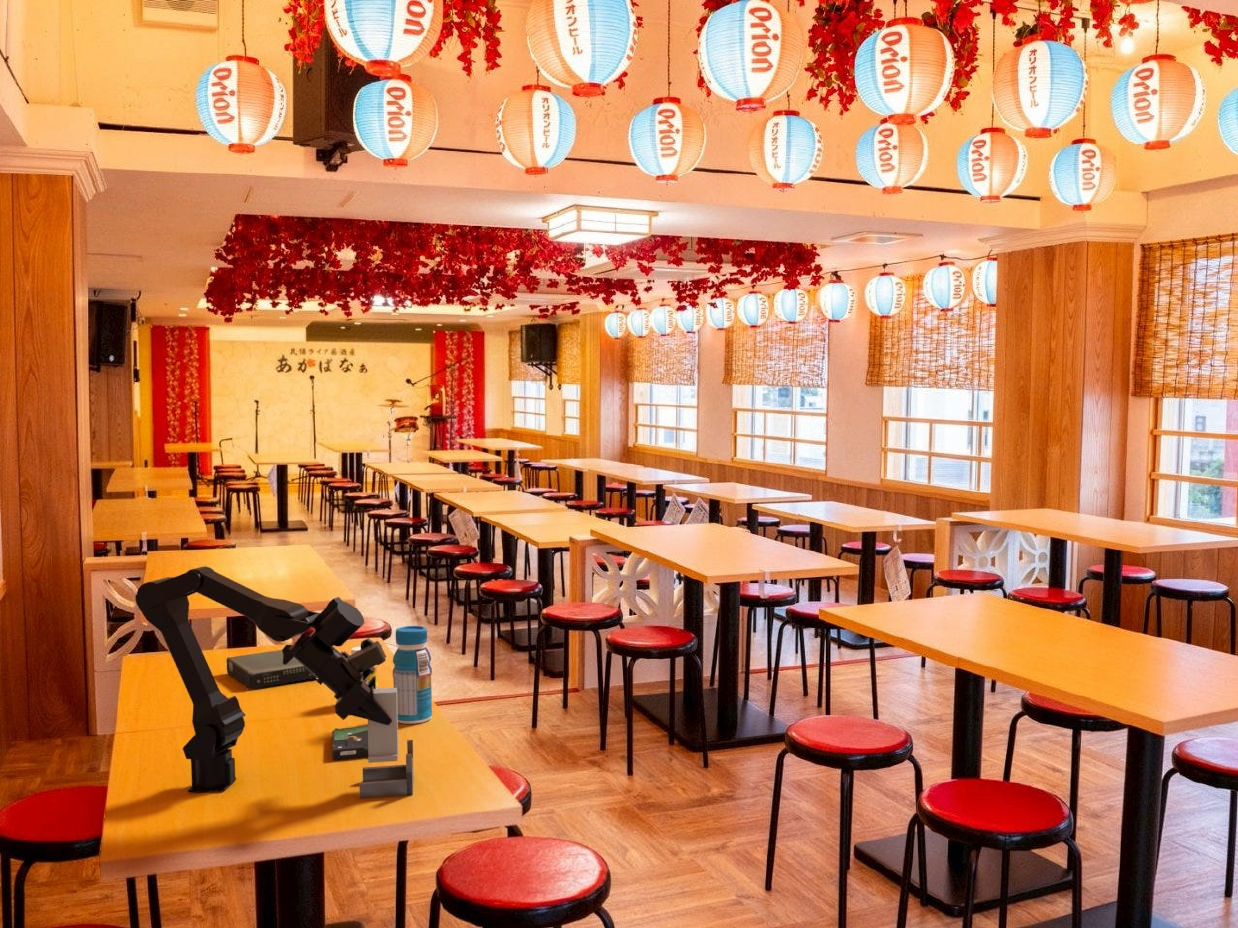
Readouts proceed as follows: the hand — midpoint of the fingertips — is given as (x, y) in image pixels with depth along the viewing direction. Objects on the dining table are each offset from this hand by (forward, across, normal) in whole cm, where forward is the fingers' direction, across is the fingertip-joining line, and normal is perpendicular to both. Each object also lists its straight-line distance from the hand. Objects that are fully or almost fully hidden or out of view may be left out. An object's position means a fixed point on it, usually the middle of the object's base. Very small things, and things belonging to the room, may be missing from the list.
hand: (390, 720), depth 188 cm
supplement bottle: (+3, +58, +15) cm, 60 cm away
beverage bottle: (+11, +42, +7) cm, 44 cm away
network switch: (-13, +90, +32) cm, 96 cm away
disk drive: (+4, +25, +14) cm, 29 cm away
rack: (+8, 0, +10) cm, 12 cm away
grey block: (+4, 0, +6) cm, 7 cm away
